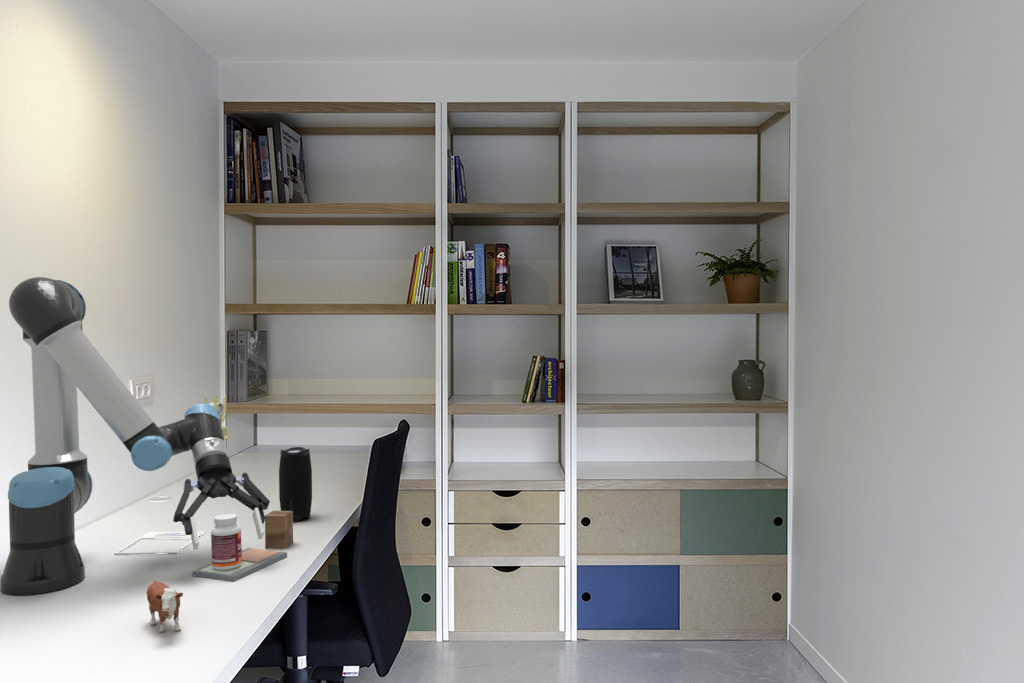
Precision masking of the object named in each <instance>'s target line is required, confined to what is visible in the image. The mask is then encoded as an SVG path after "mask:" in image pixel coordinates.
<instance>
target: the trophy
mask: <svg viewBox="0 0 1024 683" xmlns="http://www.w3.org/2000/svg"><path fill="white" fill-rule="evenodd" d="M208 399H209V398H206V396H204V399H203V400H204V403H203V404H209V405H212V406H213V407H214V408H215V409H216V410H217V413H218V416H219V420H220V422H221V427H222V432H223V436H224V441H225V440H228V439H229V438H230V437H229V436H227V429H228V427H227V426H223V425H222V424H223V423H224V421H225V419H226V416H227V405H228V404H227V394H225V396H224V397H223V398H222V402H218V400H219V399H218V394H216V395H215V396H213V402H210V403H209V400H208Z"/></svg>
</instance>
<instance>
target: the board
mask: <svg viewBox="0 0 1024 683" xmlns="http://www.w3.org/2000/svg"><path fill="white" fill-rule="evenodd" d="M241 551H242V564H241V565H240V566H239V567H236V568H233V569H229V570H216V569H214V568H213V567H212V562H211V563H209V564H206V565H204V566H201V567H200V568H197V569H193V570H192V572H191V574H192V575H195V576H194V577H198V576H201V577H200V578H205V577H208V578H207V579H212V578H214V579H213V580H219V579H220V580H221V581H227V582H235V580H236V581H237V580H240V579H242V578H244V577H246V576H248V575H250V574H253V573H255V572H257V571H260V570H261V569H264V568H266V567H268V566H270V565H273V564H275V563H277V562H279V561H281V560H283V559H286V558H288V552H287V551H280V550H279V551H277V550H272V549H269V550H268V549H262V548H251V547H248V548H245V549H241ZM220 580H219V581H220Z"/></svg>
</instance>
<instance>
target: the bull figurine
mask: <svg viewBox="0 0 1024 683" xmlns="http://www.w3.org/2000/svg"><path fill="white" fill-rule="evenodd" d="M183 596H184V593H183V592H177V591H176V590H175V589H173V588H171V587H170V586H168V585H167V584H166V583H164V582H161V581H158V580H154V581H153V582H152V583H150V584H149V585H148V587H147V590H146V599H147V602H148V610H149V614H150V615H151V617H150V618H151V619H150V626H152V627H154V626H156V625H157V620H156V619H157V618H156V616H155V614H156V613H155V612H157V613H158V618H159V622H160V627H159V634H164V633H165V632H166V627H165V626H166V625H165V621H166V618H167V619H168V620H171V619H172V618H173V622H174V632H175V633H179V632H181V631H182V628H181V626H180V624H179V621H180V618H179V616H180V607H181V598H182V597H183Z"/></svg>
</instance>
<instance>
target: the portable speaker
mask: <svg viewBox="0 0 1024 683" xmlns="http://www.w3.org/2000/svg"><path fill="white" fill-rule="evenodd" d="M279 456H280V457H279V467H278V492H279V493H278V494H279V496H278V498H279V508H280V511H293V523H297V522H300V520H301V519H303V518H304V519H305V518H306V519H308V520H309V519H310V518H311V512H312V501H313V500H312V499H313V474H312V473H313V472H312V471H313V470H312V468H313V467H312V461H311V454H310V449H309V448H304V447H303V446H295V447H294V446H293V447H290V448H287V449H280V455H279Z"/></svg>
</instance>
